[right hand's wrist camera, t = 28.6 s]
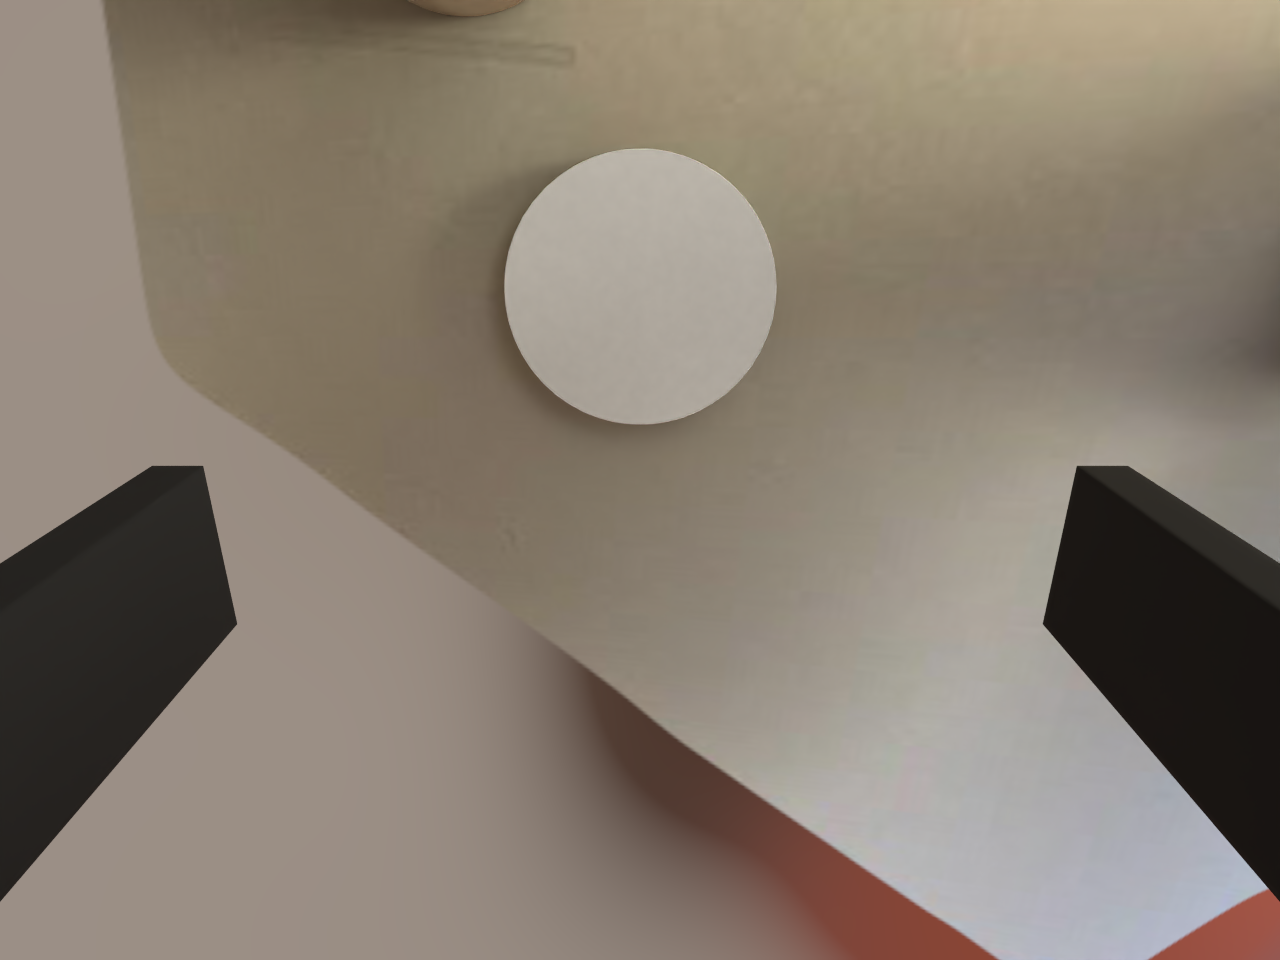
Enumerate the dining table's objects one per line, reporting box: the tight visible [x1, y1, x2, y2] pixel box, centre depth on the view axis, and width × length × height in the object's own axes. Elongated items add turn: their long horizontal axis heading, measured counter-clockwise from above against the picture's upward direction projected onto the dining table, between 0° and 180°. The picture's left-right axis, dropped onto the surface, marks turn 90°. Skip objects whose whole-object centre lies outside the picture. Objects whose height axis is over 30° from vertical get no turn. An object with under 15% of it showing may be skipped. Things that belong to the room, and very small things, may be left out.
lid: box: [504, 148, 777, 425], centre depth 35 cm, size 12×12×2 cm
